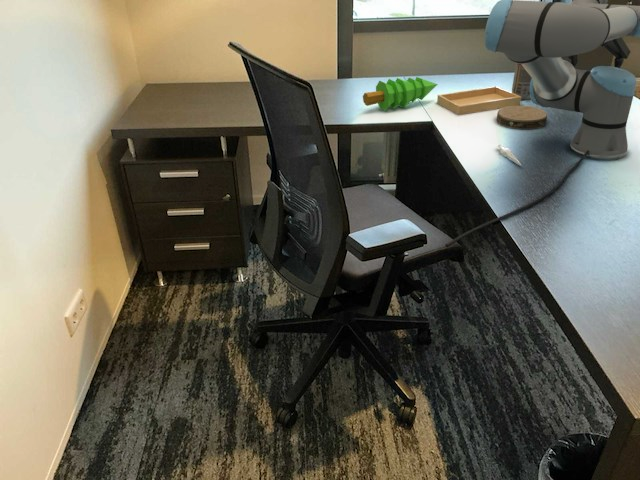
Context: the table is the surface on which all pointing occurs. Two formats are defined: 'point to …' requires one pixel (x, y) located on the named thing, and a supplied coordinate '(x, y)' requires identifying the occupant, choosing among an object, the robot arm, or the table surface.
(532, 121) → the brown wooden disc
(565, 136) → the table surface
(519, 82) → the spray can
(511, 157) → the white toy shark
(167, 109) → the table surface
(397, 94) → the decorative tree
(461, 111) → the tray
